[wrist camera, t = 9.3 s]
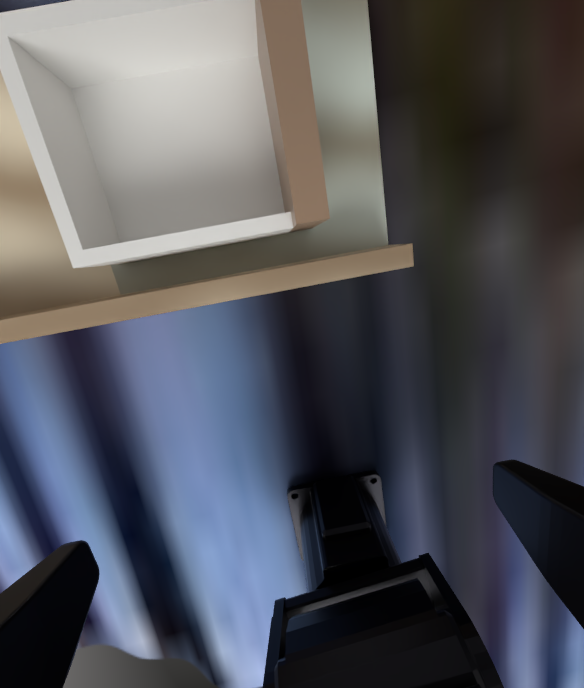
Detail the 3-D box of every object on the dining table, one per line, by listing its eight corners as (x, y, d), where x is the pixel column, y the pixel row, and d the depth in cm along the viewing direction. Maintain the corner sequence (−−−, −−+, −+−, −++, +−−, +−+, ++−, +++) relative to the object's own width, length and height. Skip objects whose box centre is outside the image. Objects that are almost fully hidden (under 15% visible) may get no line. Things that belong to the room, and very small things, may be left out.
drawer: (310, 229, 16) (330, 218, 11) (119, 264, 16) (47, 270, 11) (282, 41, 14) (289, -84, 9) (59, 80, 14) (-68, -23, 9)
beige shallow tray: (383, 263, 18) (413, 266, 14) (-86, 350, 18) (-183, 377, 14) (357, -25, 15) (388, -124, 11) (-236, 78, 14) (-423, 13, 10)
